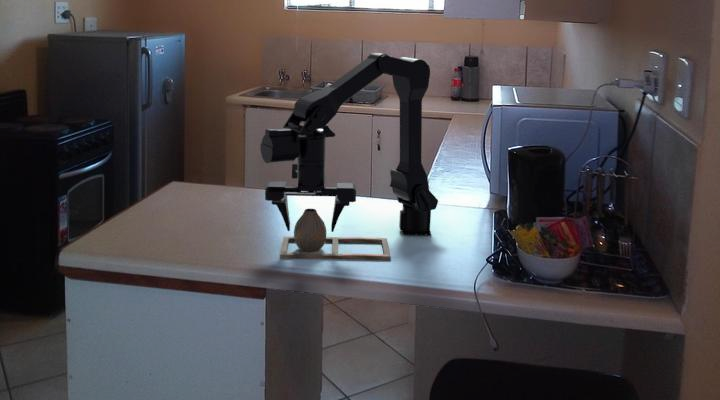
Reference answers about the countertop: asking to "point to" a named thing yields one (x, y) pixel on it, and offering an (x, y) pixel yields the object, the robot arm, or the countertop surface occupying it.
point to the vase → (310, 231)
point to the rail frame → (335, 249)
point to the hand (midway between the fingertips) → (310, 230)
